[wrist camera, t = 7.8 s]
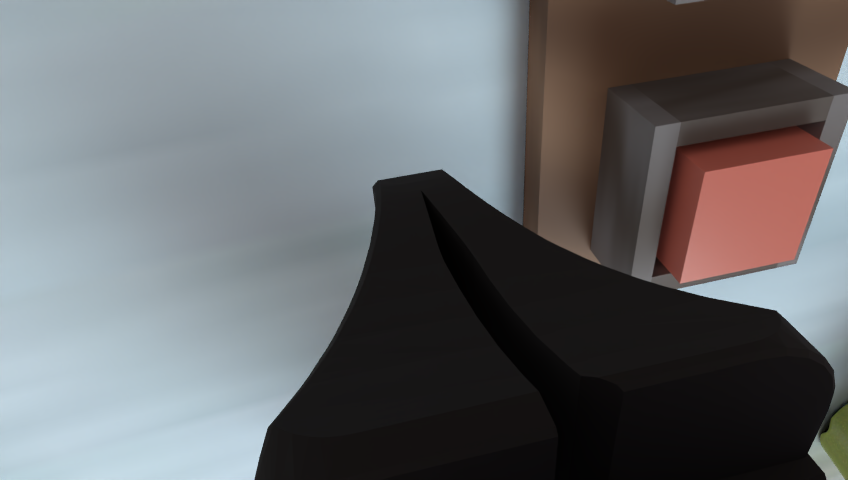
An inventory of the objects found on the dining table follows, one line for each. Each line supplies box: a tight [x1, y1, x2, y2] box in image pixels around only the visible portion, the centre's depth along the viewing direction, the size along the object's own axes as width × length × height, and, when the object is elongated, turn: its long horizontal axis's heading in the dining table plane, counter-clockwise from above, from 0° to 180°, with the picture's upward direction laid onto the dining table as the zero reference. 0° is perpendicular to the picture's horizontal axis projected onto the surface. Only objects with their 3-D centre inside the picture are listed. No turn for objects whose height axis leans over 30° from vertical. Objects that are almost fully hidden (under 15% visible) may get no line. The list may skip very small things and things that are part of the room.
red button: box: [656, 126, 834, 284], centre depth 21 cm, size 4×4×3 cm
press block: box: [523, 0, 848, 289], centre depth 19 cm, size 22×11×4 cm, turn 4°
